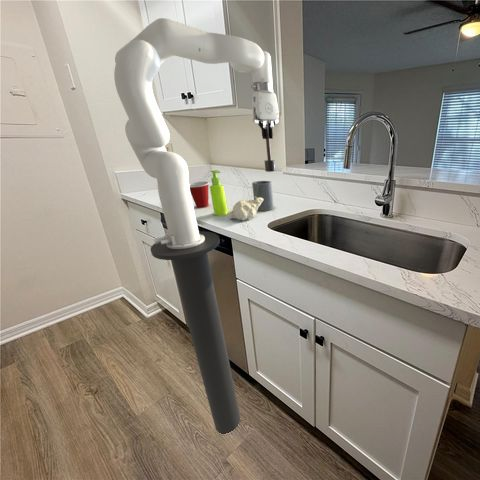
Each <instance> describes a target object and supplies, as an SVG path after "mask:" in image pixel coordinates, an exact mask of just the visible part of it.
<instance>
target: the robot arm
mask: <svg viewBox="0 0 480 480" xmlns="http://www.w3.org/2000/svg"><path fill="white" fill-rule="evenodd" d="M172 56H173V57H179V58H182V59H183V58H184V59H187V60H192V61H195V62H200V63H203V64H207V65H208V64H211V65H217V64H224V63H226V64H227V63H229V65H230V67H231V68H232V69H233V71H235V72H237V73H242V74H247V73H248V74H249V73H250V74H252V75H251V76H252V84H251V85H250V88H251V89H253V92H252V99H251V103H252V104H251V105H252V117H253V118H252V122H253V123H255V124H256V125H258V127H259V129H261V136H262V140H266V139H268V130H267V128H266V124H268V125H269V137H270V140H272V139H273V138H274V134H273V133H274V132H273V129H274V127H275V126H276V125H277V124H279V122H280V121H279V119H280V112H279V111H280V110H279V106H278V100H277V99H278V98H277V95H276V93H275V92H274V84H273V82H274V81H273V69H272V57H271V55H270V53H269V52H268V51H266V50H263V49H262V48H261V47H260V46H259V45H258V43H256V42H254V41H251V40H249V39H246V38H244V37H240V36H237V35H230V34H223V33H216V32H208V31H205V30H202V29H198V28H196V27H193V26H190V25H188V24H184V23H181V22H178V21H175V20H172V19H170V18H164V17H160V18H156V19H155V20H153V21H152V22H151V23H150V24H148V25H147V26H146V27H144V28H143V29H142V31H140V32H139V33H138V34H137V35H136V36H135V37H134V38H132V39H131V40H130V41H129V42H127V43H126V44H125V45H124V46H123V47H121V48H120V49H118V50H117V51H116V53H115V56H114V63H115V66H114V74H113V75H114V78H113V79H114V85H115V89H116V92H117V95H118V97H119V100H120V102H121V104H122V107H123V109H124V112H125V113H126V116H127V117H128V120H126V123H125V125H124V130H125V135H126V139H127V140H128V142H129V144H130V146H131V148H132V151H133V152H134V154H135V156H136V158H137V160H138V161H139V164H140V165H141V168H142V169H143V170H144V172H145V173H146V174H147V175H148V176H150V177H151V178H154V179H156V181H157V191H158V192H157V193H158V197H159V201H160V205H161V209H162V213H163V217H164V220H165V224H166V228H167V232H166V233H165V235H163V236H162V237H155V238H153V241H154V244H159V243H161V244H166V245H167V247H168V248H170V249H186V248H191V247H194V246H197V245H199V244H201V243H203V242H204V240H205V237H204V236H203V235H201V234H199V231H200V230H199V227H198V221H197V217H196V212H195V206H194V201H193V197H192V195H191V192H190V186H189V184H190V173H189V167H188V164H187V162H186V161H185V159H184V158H183V157H182V156H181V155H179V154H178V153H176V152H174V151H167V148H166V146H167V145H168V144H169V142H170V138H171V134H170V130H169V128H168V126H167V124H166V122H165V119H164V117H163V115H162V113H161V110H160V107H159V106H158V103H157V101H156V98H155V94H154V90H153V81H154V78H155V76H157V74H158V73H159V72H160V69H161V65H163V64H164V62H165V61H167V59H169V58H171V57H172Z"/></svg>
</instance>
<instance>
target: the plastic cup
mask: <svg viewBox="0 0 480 480" xmlns="http://www.w3.org/2000/svg"><path fill="white" fill-rule="evenodd" d="M209 184H210V182H209V181H197V182H192V183H189V186H190V192H191V197H192V201H193V203H194V204H195V207H196V208H198V209H202V208H207V207H209V198H210V197H209V188H210V185H209Z"/></svg>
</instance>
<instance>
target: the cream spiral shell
mask: <svg viewBox="0 0 480 480" xmlns="http://www.w3.org/2000/svg"><path fill="white" fill-rule="evenodd" d="M263 201H264V200H263V198H261V197H259V198H256V199H254V198H253V199H250V200H238V201H237V202H236V203H235V204H234V205H233V208H232V210H231V211H228V213H227V214H226V215H227V216H226V217H227V219H229V220H241V221H247V220H248V221H250V220H251V219H253V218H255V217H256V215H257V212H258V211H257V210H258V207H259V206H260V205H261V203H262V202H263Z"/></svg>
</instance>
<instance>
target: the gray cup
mask: <svg viewBox="0 0 480 480" xmlns="http://www.w3.org/2000/svg"><path fill="white" fill-rule="evenodd" d="M251 186H252V187H251V188H252V194H253V200H254V199H256V198H259V197H261V198H263V200H264V201H263V202H262V203H261V205H260V206H259V207H258V210H257V212H267V211H268V212H269V211H273V210H274V198H273V197H274V196H273V185H272V181H270V180H257V181H253V182H252V183H251Z"/></svg>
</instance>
